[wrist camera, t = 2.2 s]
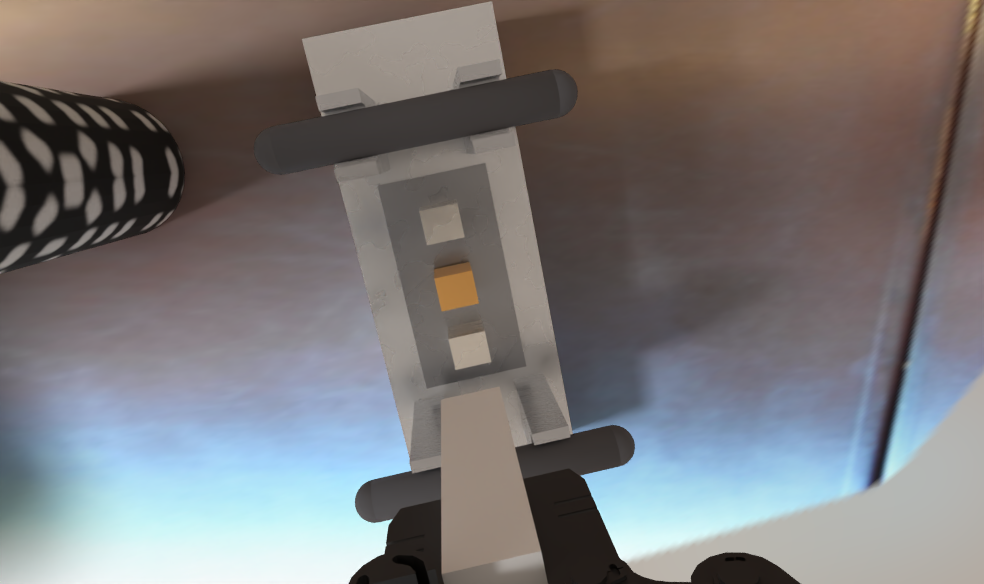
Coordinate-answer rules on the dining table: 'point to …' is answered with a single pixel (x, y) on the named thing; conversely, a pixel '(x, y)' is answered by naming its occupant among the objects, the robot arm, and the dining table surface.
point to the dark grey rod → (415, 122)
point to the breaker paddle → (455, 286)
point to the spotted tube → (79, 173)
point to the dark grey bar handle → (574, 453)
